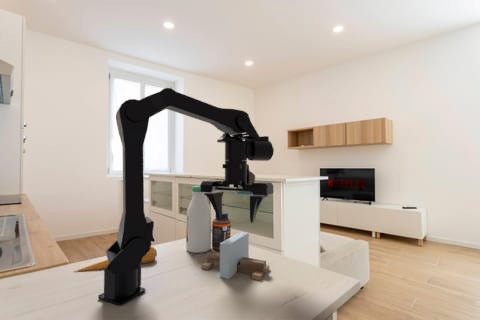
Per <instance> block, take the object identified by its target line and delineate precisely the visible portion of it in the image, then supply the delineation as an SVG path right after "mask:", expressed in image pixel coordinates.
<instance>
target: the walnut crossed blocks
mask: <svg viewBox="0 0 480 320" xmlns="http://www.w3.org/2000/svg"><path fill="white" fill-rule="evenodd" d="M213 267H215V268H219V269H220V252H215V251H208V253H206V261H205V262H203V263H202V264H201V269H202V270H207V271H208V270H210V269H212V268H213ZM268 271H270V265H269V264H267V260H263V259H257V258H251V257H249V258H246V257H243V258H242V259H240V262H239V263H237V272H239V273H246V274H251V279H252V280H256V281H261V280H262V278H264V277H265V275H266V274H267V273H268Z"/></svg>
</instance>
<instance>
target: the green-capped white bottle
mask: <svg viewBox="0 0 480 320" xmlns="http://www.w3.org/2000/svg"><path fill="white" fill-rule="evenodd" d="M191 193H192V197H191V200H190V202H189V205H188V208H187V212H186V232H185V233H186V234H185V235H186V236H185V237H186V238H185V239H186V240H185V242H186V243H185V244H186V245H185V248H186V251H187V252H189V253H194V254H200V253H205V252H210V250H211V248H212V210H211V207H210V204H209V201H208V199H207V196H206V195H204V193H206V192H200V185H193V186H192V187H191Z"/></svg>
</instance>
